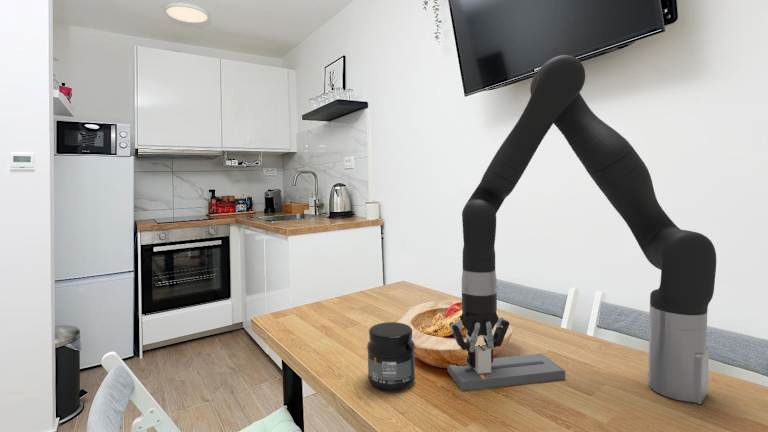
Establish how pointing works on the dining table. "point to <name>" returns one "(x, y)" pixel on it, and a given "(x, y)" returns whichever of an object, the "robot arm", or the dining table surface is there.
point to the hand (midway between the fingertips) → (479, 365)
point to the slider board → (508, 372)
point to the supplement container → (391, 357)
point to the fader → (482, 359)
